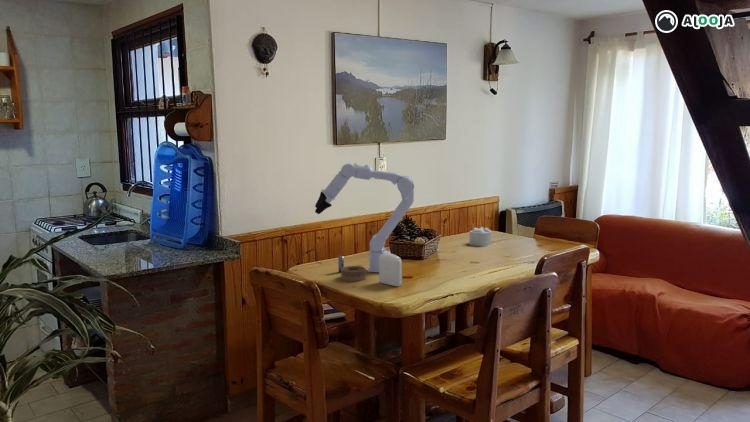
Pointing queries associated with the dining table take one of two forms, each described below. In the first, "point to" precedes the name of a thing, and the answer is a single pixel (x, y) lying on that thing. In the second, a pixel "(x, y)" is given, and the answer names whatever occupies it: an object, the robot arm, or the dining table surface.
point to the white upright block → (390, 269)
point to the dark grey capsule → (340, 263)
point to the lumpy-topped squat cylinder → (480, 237)
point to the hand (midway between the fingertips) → (316, 210)
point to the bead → (353, 273)
